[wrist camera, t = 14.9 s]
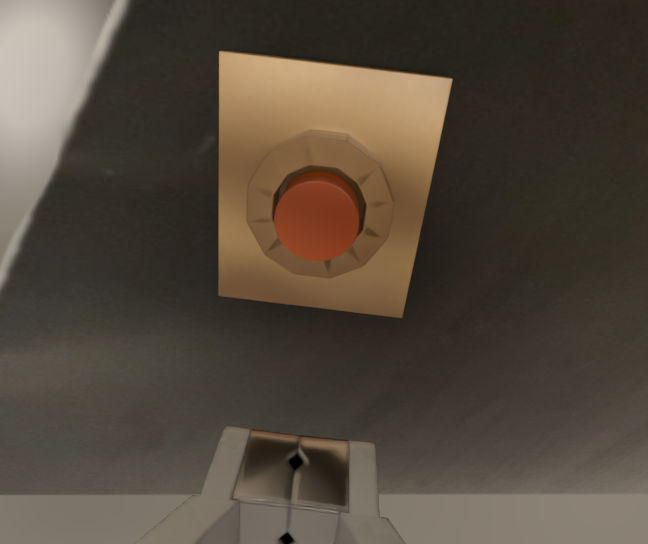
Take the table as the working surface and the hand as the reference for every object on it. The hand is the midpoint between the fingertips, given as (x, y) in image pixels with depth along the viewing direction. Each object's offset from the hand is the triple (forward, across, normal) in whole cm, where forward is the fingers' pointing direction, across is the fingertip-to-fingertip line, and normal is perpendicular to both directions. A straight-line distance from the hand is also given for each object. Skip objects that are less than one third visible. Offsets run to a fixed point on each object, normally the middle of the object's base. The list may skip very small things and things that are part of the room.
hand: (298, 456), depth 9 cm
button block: (+17, 0, -1) cm, 17 cm away
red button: (+13, 0, -1) cm, 13 cm away
